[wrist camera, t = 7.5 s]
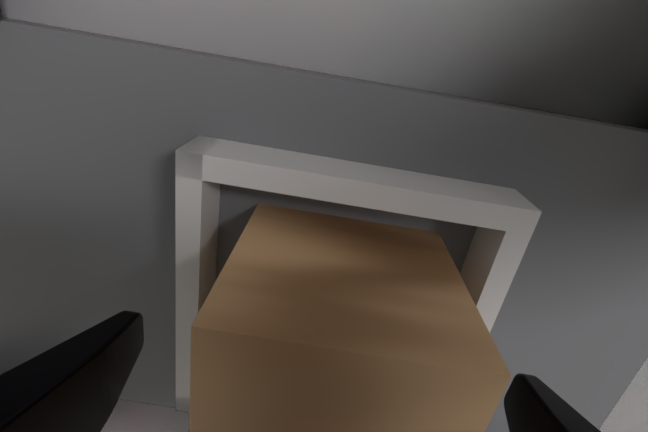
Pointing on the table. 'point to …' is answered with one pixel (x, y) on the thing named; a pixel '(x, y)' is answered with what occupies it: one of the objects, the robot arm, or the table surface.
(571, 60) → the table surface
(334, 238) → the cardboard box
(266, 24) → the table surface
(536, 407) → the robot arm
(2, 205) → the chassis
